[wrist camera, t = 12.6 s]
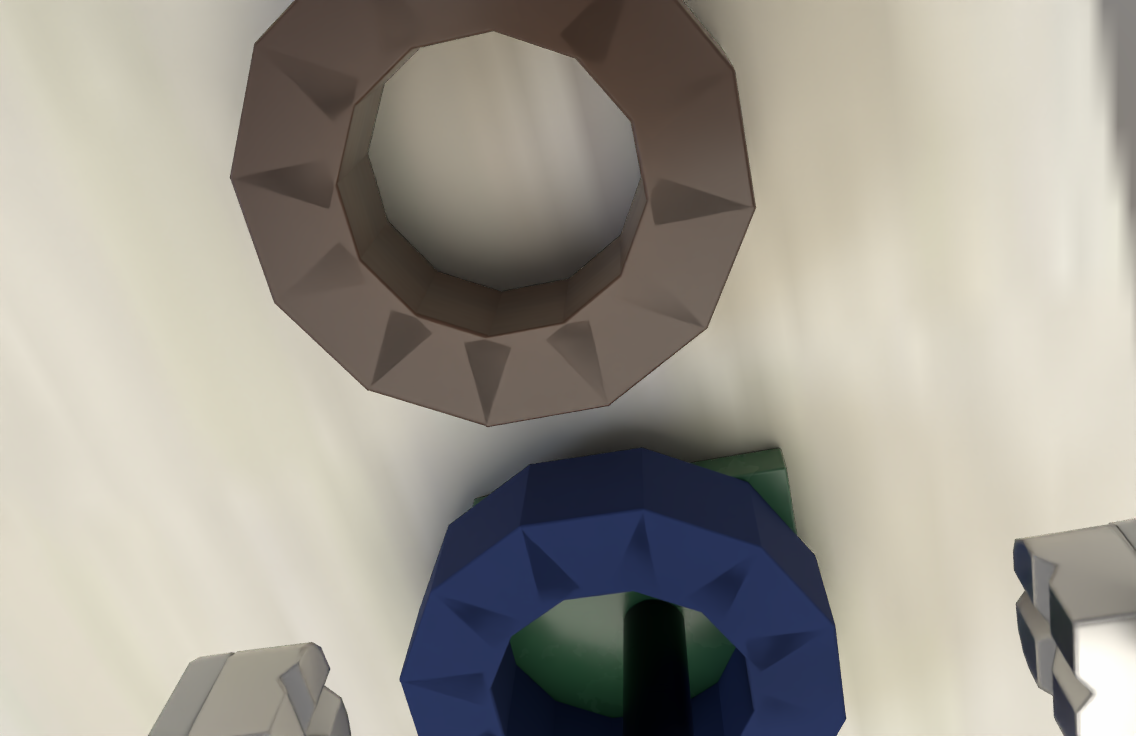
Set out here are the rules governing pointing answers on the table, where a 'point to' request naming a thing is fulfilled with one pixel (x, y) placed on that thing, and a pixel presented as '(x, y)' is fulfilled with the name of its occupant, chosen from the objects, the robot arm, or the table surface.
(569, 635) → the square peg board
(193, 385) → the table surface
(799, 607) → the navy ring
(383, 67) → the walnut ring
